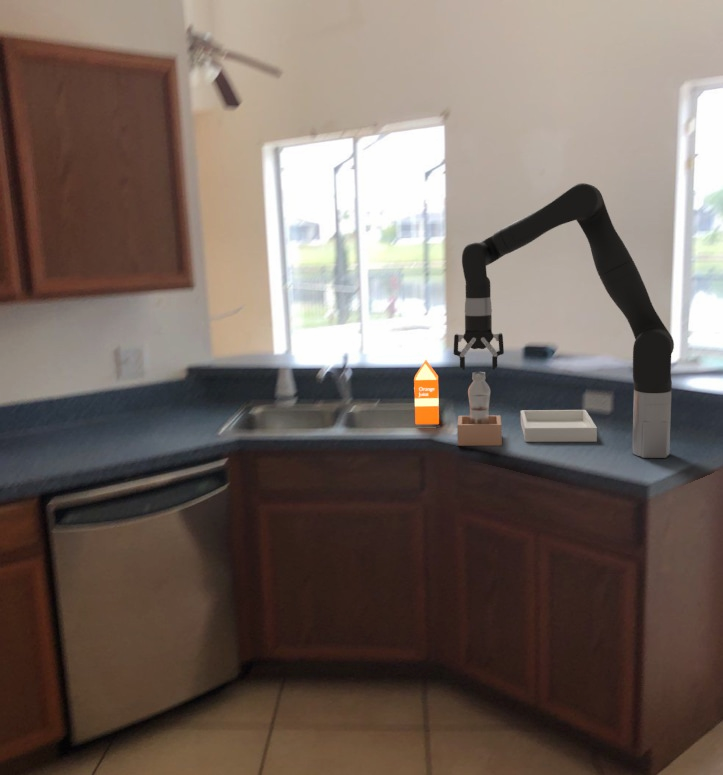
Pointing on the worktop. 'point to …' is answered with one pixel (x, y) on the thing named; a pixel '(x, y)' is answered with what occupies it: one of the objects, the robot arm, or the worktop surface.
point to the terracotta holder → (479, 431)
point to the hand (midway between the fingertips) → (478, 369)
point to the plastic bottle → (479, 399)
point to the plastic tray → (558, 426)
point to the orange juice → (426, 395)
